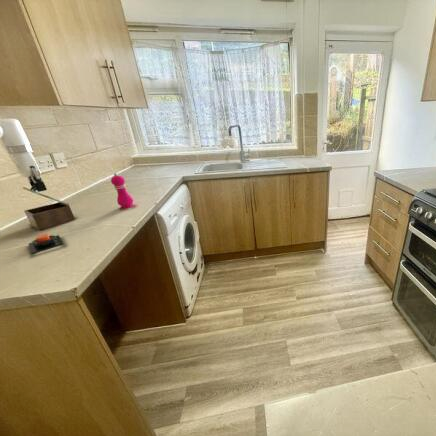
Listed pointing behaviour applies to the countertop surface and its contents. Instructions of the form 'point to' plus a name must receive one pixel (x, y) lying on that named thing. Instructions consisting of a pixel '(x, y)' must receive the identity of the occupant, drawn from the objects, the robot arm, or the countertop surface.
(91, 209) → the countertop surface
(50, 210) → the brown open box
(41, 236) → the lock button
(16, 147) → the robot arm
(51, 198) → the frame lid
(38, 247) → the lock base
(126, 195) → the pepper mill
